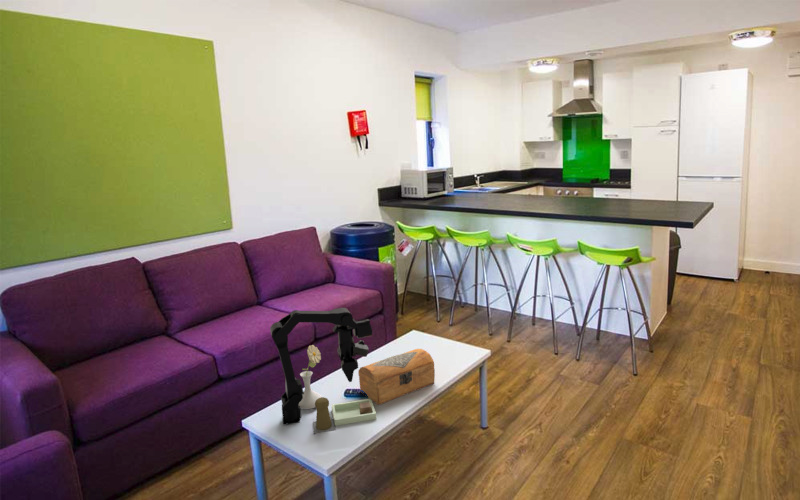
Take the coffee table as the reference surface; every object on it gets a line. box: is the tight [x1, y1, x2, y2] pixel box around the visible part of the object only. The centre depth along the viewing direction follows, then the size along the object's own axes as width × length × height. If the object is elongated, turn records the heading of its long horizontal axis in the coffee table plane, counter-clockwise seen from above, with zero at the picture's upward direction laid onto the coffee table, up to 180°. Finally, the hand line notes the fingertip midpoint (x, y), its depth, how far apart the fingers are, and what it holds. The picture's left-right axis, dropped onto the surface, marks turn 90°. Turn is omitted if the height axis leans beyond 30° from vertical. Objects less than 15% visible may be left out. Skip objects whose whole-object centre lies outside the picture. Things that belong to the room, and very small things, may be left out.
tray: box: [331, 398, 377, 427], centre depth 198 cm, size 16×12×3 cm
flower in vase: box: [298, 344, 323, 410], centre depth 206 cm, size 13×11×25 cm
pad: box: [312, 418, 337, 435], centre depth 191 cm, size 8×8×1 cm
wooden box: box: [358, 348, 436, 406], centre depth 217 cm, size 30×16×14 cm, turn 124°
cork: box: [315, 396, 332, 430], centre depth 190 cm, size 6×6×11 cm
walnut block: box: [359, 402, 371, 415], centre depth 197 cm, size 4×4×4 cm
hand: (349, 376), depth 202 cm, fingers open, 9 cm apart
